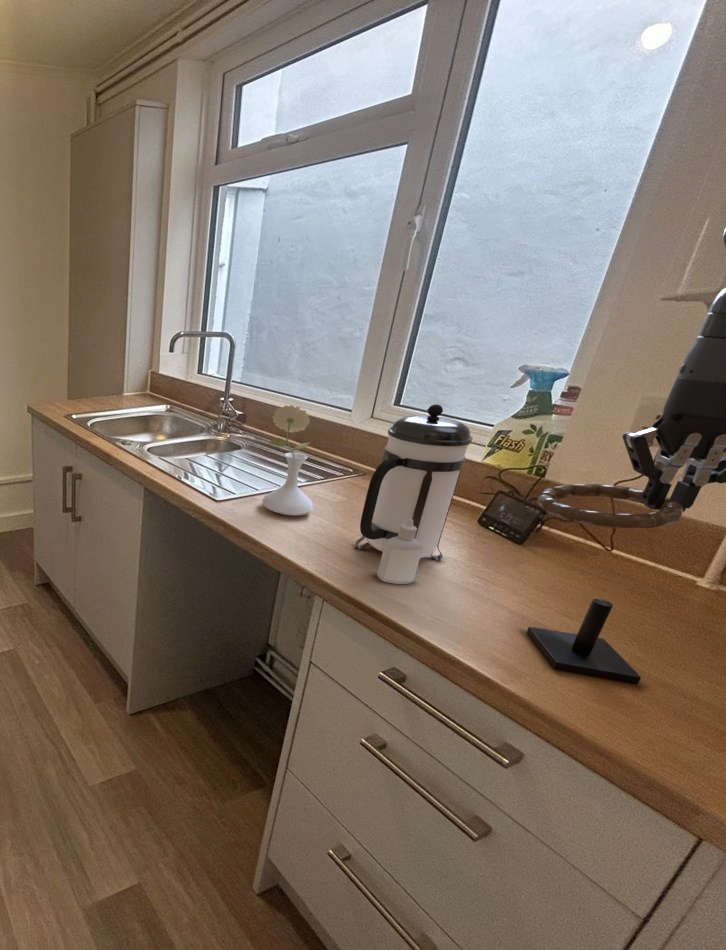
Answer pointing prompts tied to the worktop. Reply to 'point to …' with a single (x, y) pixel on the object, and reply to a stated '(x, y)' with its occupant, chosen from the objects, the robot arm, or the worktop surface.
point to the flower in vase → (290, 465)
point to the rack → (584, 648)
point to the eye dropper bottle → (401, 556)
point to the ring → (548, 502)
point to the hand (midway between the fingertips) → (663, 508)
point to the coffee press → (415, 480)
